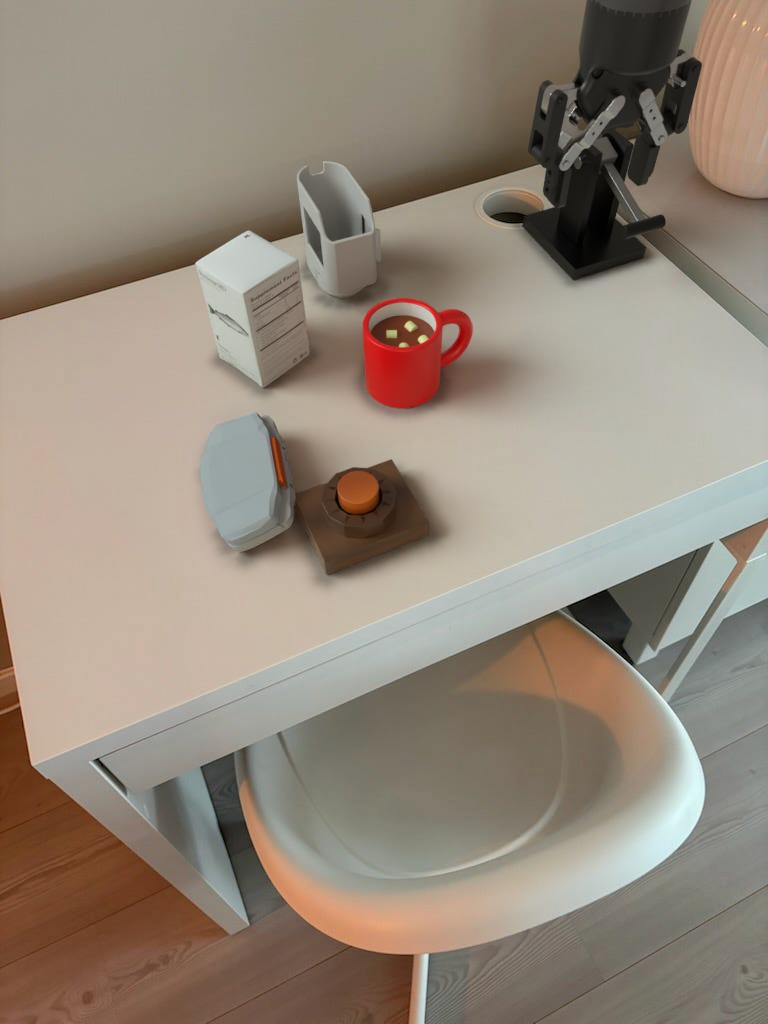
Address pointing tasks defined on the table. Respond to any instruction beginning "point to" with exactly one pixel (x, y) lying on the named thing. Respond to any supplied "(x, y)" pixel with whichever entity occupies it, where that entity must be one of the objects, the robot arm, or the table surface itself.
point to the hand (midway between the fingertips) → (596, 192)
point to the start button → (358, 492)
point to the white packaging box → (255, 306)
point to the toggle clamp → (587, 218)
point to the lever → (625, 195)
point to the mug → (409, 350)
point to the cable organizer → (338, 230)
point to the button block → (360, 519)
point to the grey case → (247, 481)
